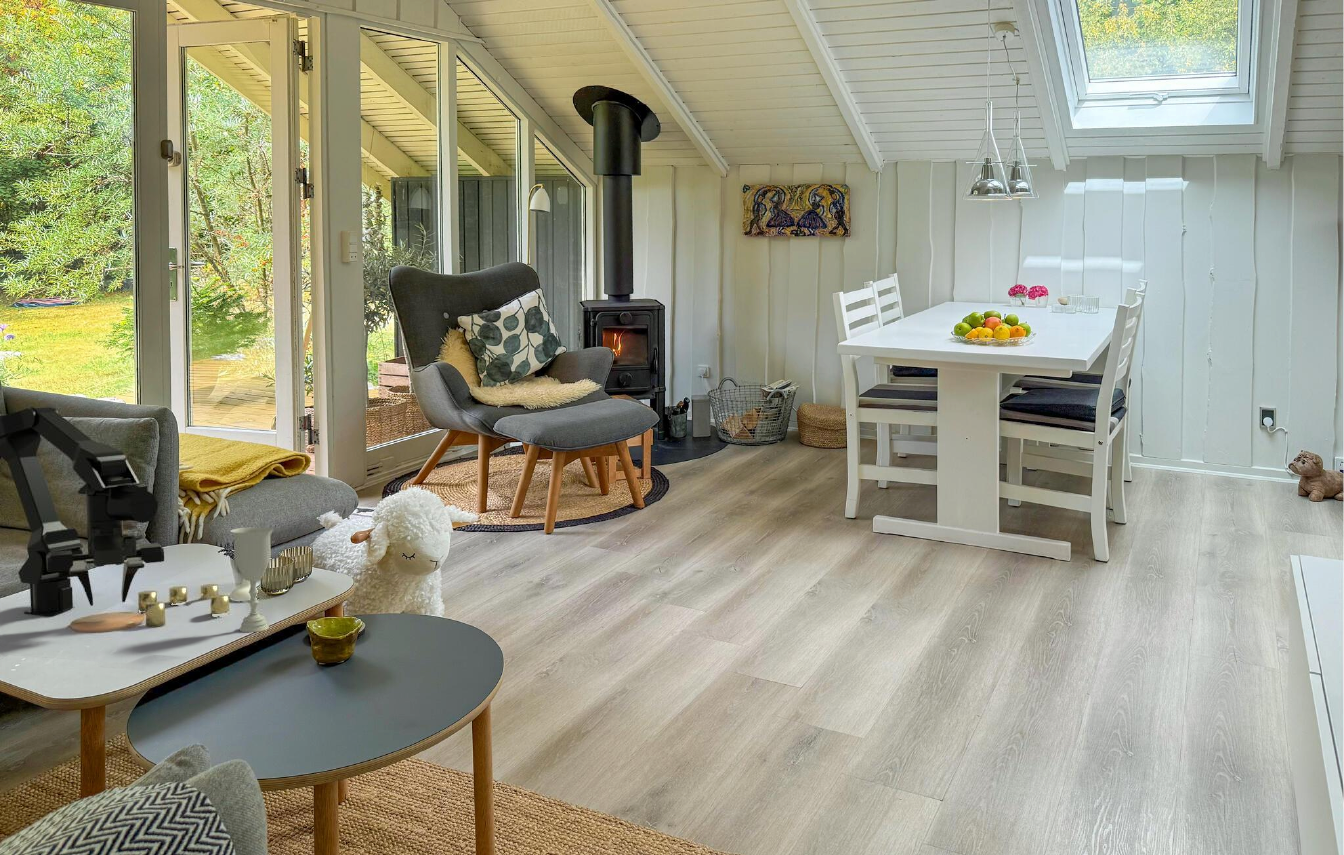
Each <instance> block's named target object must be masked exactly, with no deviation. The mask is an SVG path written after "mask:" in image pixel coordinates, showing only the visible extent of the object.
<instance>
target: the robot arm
mask: <svg viewBox="0 0 1344 855" xmlns="http://www.w3.org/2000/svg"><path fill="white" fill-rule="evenodd" d="M42 437H43V439H45V440H46V441H48V442H49V443H50V444H51V445H53V446H54V447H55V448H56V449H57V450H59V451H60V452H62V453H63V455H65V456H66V457H68V458H69V459H70V460H71V463H72V470H73V472H74V473H76V475H77V476H78V477H79V478H80V479H81V480H82V481H83V482H84V485H83V486H81V487H80V488H79V489H78V490H77V493H78V494H79V495H85V497H86V498H85V499H86V500H85V501H86V525H87V526H86V527H87V529H86V530H87V531H86V532H87V550H88V551H87V553H84V551H83V550H82V549H83V548H84V545H83V544H82V543H81V541H80V538H79V534H78V530H77V529H76V528H75V527H70V528H67V527H66V526H65V525H64V524H62V523H61V520H60V518H59V514H58V512H57V508H56V505H55V503H54V501H53V500H54V499H53V497H52V493H51V490H50V488H49V486H48V483H47V480H46V477H45V474H44V471H43V468H42V465H41V462H40V460H39V457H38V452H39V448H40V444H41V441H42ZM0 458H2V459H3V460H4V461H5V462H6V463H7V464H8V467H9V470H10V474H11V476H12V479H13V481H14V485H15V488H16V491H17V494H18V497H19V499H20V502H21V506H22V508H23V511H24V515H25V517H26V520H27V523H28V526H29V529H30V531H31V532H30V533H31V534H30V537H29V540H28V543H27V547H26V550H27V556H28V558H27V559H26V560H25V562H24V563H23V564H22V566H21V567H20V569H19V570H18V577H19V580H20V583H21V584H29V595H30V597H29V598H30V609H28V610H24V611H23V614H24V615H31V616H32V615H34V616H35V615H36V616H49V617H50V616H51V617H52V616H53V617H54V616H56V615H60V614H63V613H65V612H67V611H70V610H72V609H74V608H75V606H74V603H73V599H74V598H73V586H72V583H71V578H74V577H75V578H76V577H77V579H78V580H79V582H80V584H81V585H82V588H83V590H84V592H85V595H86V598H87V600H88V602H89V605H90V606H91V607H92V606H94V597H93V591H92V586H91V580H90V575H89V570H88V567H87V564H88V565H89V564H94V566H96V567H99V568H100V567H105V566H110V565H116V566H120V565H123V570H122V581H121V582H122V584H121V602H122V603H125V602H126V600H127V597H128V594H129V591H130V587H131V585H132V582H133V580H134V577H135V576H136V574H137V572H138V571H139V569H144V568H145V564H152V563H153V564H155V563H162V562H165V551H164V549H165V548H163V547H162V545H160V544H159V543H157V542H155V543H153V542H152V543H143V544H142V543H141V544H140V543H139V544H137V539H136V535H124V522H131V523H140V524H141V523H142V524H143V523H148V522H150V521H151V520H152V519H153V518H154V517H155V516H156V514H157V512H158V506H159V502H158V500H157V499H156V497H155V495H154V494H153V493H152V492H150V491H149V490H148V485H147V484H146V483H145V484H144V483H142V484H141V482H140V481H139V479H138V476H137V474H135V472H134V470H133V469H132V467H131V465H130V463H129V461H128V459H127V456H126V455H125V454H124V452H123V451H121V450H119V449H117V448H116V447H113V446H111V445H108V444H105V443H101V442H97V441H95V440H93V439H92V438H90V437H89V436H88V435H86V434H85V433H84V432H83V431H82V430H80V429H79V428H78V427H76V426H75V425H73V424H72V423H71V422H69V420H67V419H66V418H65V417H63V416H62V415H61V414H60V413H59V412H58V410H57V409H56V408H55V407H52V406H50V405H48V406H47V405H45V406H29V407H27V408H24V409H21V410H19V411H16V412H12V413H8V414H0ZM144 563H145V564H144Z"/></svg>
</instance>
